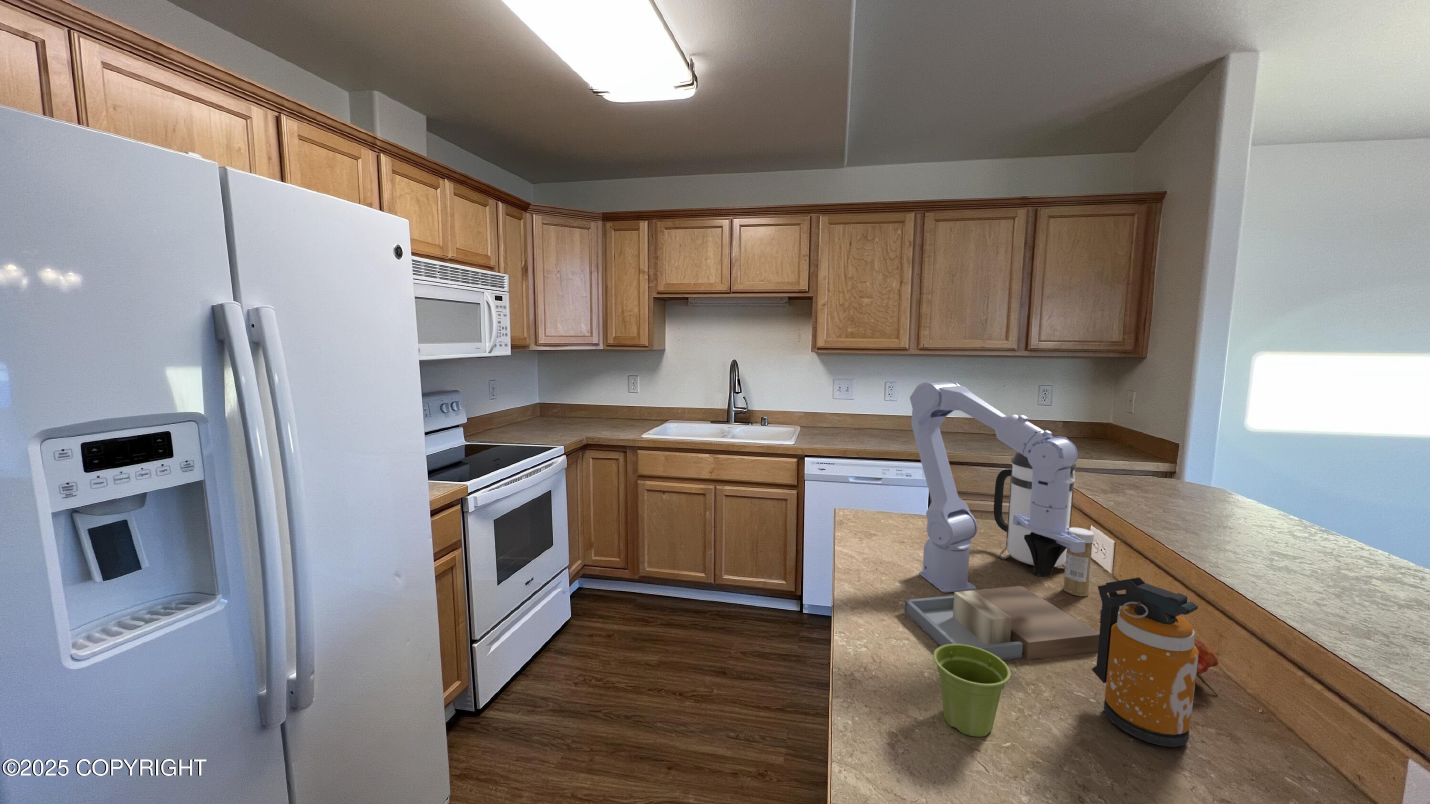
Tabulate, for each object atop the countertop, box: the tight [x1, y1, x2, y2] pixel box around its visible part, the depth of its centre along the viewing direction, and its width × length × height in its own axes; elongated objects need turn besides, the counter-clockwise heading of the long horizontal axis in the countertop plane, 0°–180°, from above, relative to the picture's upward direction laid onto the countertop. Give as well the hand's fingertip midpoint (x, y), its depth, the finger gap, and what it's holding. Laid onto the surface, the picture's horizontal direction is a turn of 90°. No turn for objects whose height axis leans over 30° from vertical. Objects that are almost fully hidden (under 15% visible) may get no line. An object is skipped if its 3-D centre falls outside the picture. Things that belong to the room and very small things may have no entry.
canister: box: [1091, 576, 1199, 747], centre depth 71 cm, size 9×11×20 cm
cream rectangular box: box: [953, 591, 1012, 645], centre depth 94 cm, size 10×5×4 cm
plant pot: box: [933, 644, 1011, 738], centre depth 72 cm, size 9×9×9 cm
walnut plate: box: [958, 585, 1100, 660], centre depth 96 cm, size 18×14×3 cm
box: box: [904, 595, 1023, 661], centre depth 94 cm, size 17×11×2 cm
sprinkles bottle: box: [1062, 527, 1095, 597], centre depth 109 cm, size 5×5×14 cm
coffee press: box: [993, 451, 1077, 576], centre depth 123 cm, size 17×16×30 cm
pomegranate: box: [1194, 637, 1220, 697], centre depth 80 cm, size 7×7×10 cm
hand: (1043, 574), depth 96 cm, fingers closed
